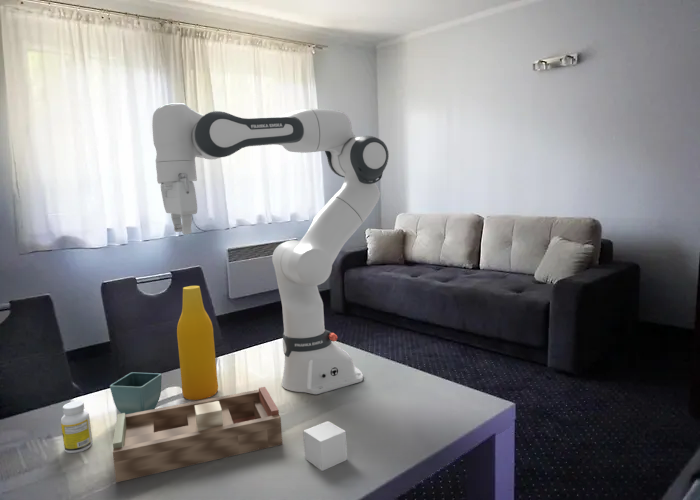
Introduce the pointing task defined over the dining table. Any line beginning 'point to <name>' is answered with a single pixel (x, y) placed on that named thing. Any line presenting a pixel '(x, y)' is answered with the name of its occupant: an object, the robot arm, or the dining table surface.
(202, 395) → the beer bottle
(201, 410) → the ash block
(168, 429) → the tray
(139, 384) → the flower pot
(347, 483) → the dining table surface
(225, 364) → the dining table surface
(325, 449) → the white cube
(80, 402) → the supplement bottle
